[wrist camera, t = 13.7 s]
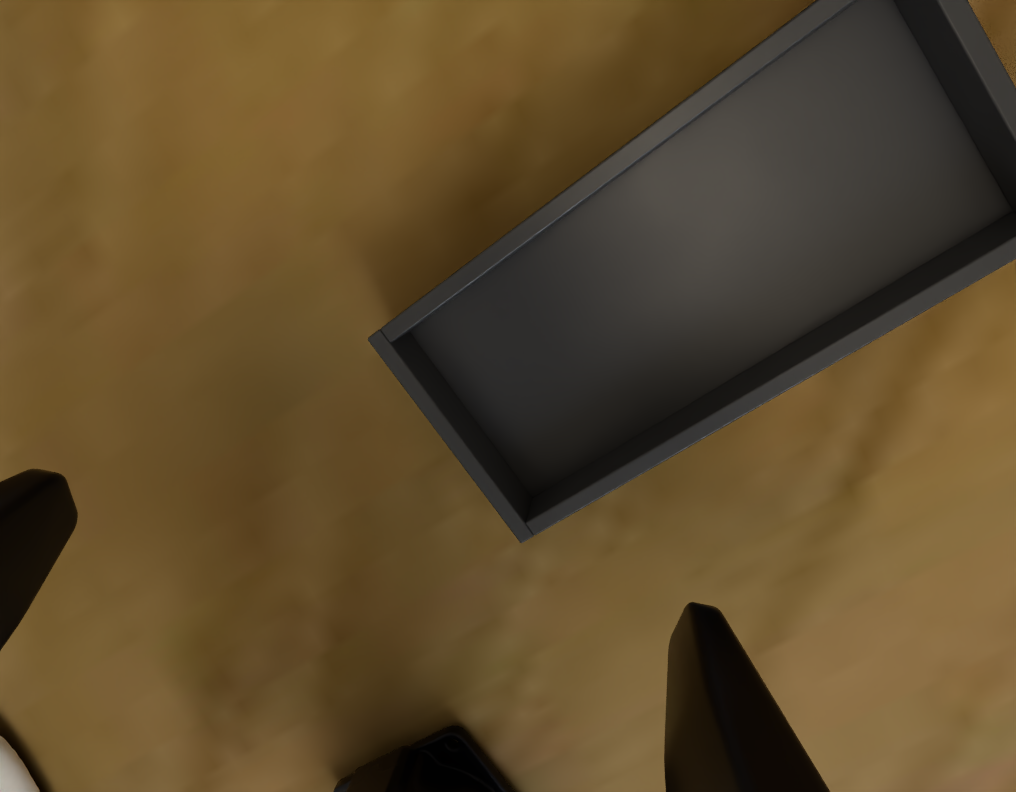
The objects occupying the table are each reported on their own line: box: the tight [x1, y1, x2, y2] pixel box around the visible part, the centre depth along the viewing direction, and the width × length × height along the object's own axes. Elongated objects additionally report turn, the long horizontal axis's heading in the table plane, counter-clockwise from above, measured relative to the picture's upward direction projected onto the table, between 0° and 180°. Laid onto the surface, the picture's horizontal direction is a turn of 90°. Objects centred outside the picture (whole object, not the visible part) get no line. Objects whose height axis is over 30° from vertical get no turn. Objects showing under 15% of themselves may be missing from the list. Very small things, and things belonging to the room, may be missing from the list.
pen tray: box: [368, 0, 1016, 543], centre depth 18 cm, size 16×8×2 cm, turn 126°
